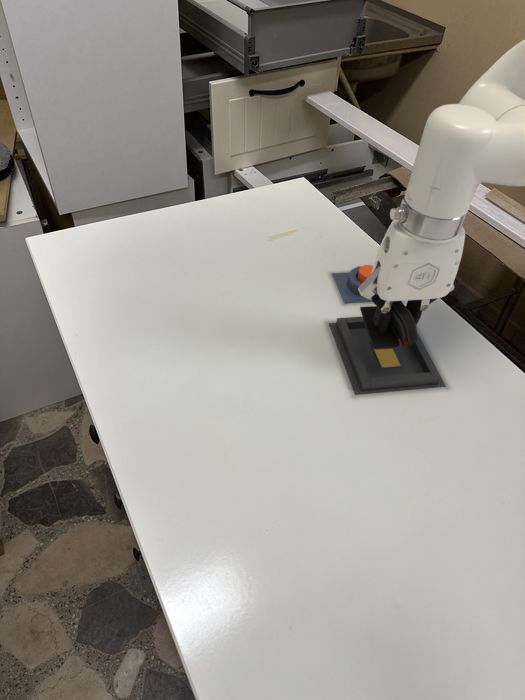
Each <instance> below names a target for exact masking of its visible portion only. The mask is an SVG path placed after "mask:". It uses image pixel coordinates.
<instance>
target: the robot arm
mask: <svg viewBox="0 0 525 700" xmlns="http://www.w3.org/2000/svg"><path fill="white" fill-rule="evenodd" d="M481 184H491V185H499V186H507V187H525V39H523V40H522V41H519V42H518V43H516V44H515V45H514V46H512V47H511V48H510V49H508V50H507V51H506V52H505V53H504V54H503V55H502V56H501V57H500V58H498V59H497V60H496V61H495V62H494V63H493V64H492V65H491V66H490V67H489V69H487V70H486V71H485V72H484V73H483V74H482V75H481V76H480V77H479V78H478V79H477V80H476V81H475V82H474V84H472V86H471V87H470V88H469V89H468V91H467V92H466V93H465V94H464V95H463V97H462V98H461V99H460V101H459V102H458V103H448V104H447V103H446V104H443V105H440V106H438V107H436V108H435V109H434V110H433V111H431V113H430V114H429V115H428V118H427V119H426V122H425V125H424V128H423V131H422V135H421V138H420V141H419V145H418V150H417V152H416V156H415V159H414V162H413V166H412V170H411V173H410V177H409V180H408V183H407V187H406V190H405V194H404V197H403V198H402V199H401V203H400V206H397V207H392V208H391V209H390V211H389V217H390V220H392V221H391V223H390V225H389V226H388V228H387V230H386V232H385V233H384V237H383V239H382V241H381V243H380V245H379V248H378V250H377V253H376V255H375V259H374V262H373V264H372V266H373V268H372V272H371V275H370V276H369V277H368V278H367V279H366V280H365V281H364V282H363V283H362V284H361V285H360V286H359V287H358V290H359V292H360V294H361V296H363V297H365V298H367V299H369V300H372V302H371V303H373V304H374V306H377V308H376V311H375V314H374V318H373V321H374V324H375V326H378V329H379V331H380V333H381V334H385V333H386V332H387V329H388V326H389V323H390V320H391V317H392V312H391V310H390V309H391V307H392V305H393V303H394V301H402V302H404V301H407V302H406V304H405V306H406V308H407V309H408V311H409V312H410V313H411V315H412V317H413V319H414V321H415V324H416V326H417V325H418V323H419V322H420V319H421V317H422V314H423V312H424V311H427V310H428V309H429V307H430V304H432V303H434V302H435V301H436V300H438V299H440V298H443V297H446V296H447V295H448V294H449V293H450V292H453V291H454V290H455V285H454V282H455V279H456V278H457V274H458V271H459V268H460V263H461V260H462V257H463V251H464V247H465V239H466V230H465V228H464V227H463V225H464V223H465V220H466V218H467V215H468V212H469V209H470V206H471V204H472V202H473V199H474V197H475V194H476V192H477V189H478V188H479V185H481ZM376 287H377V290H376V289H375V288H376Z"/></svg>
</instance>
